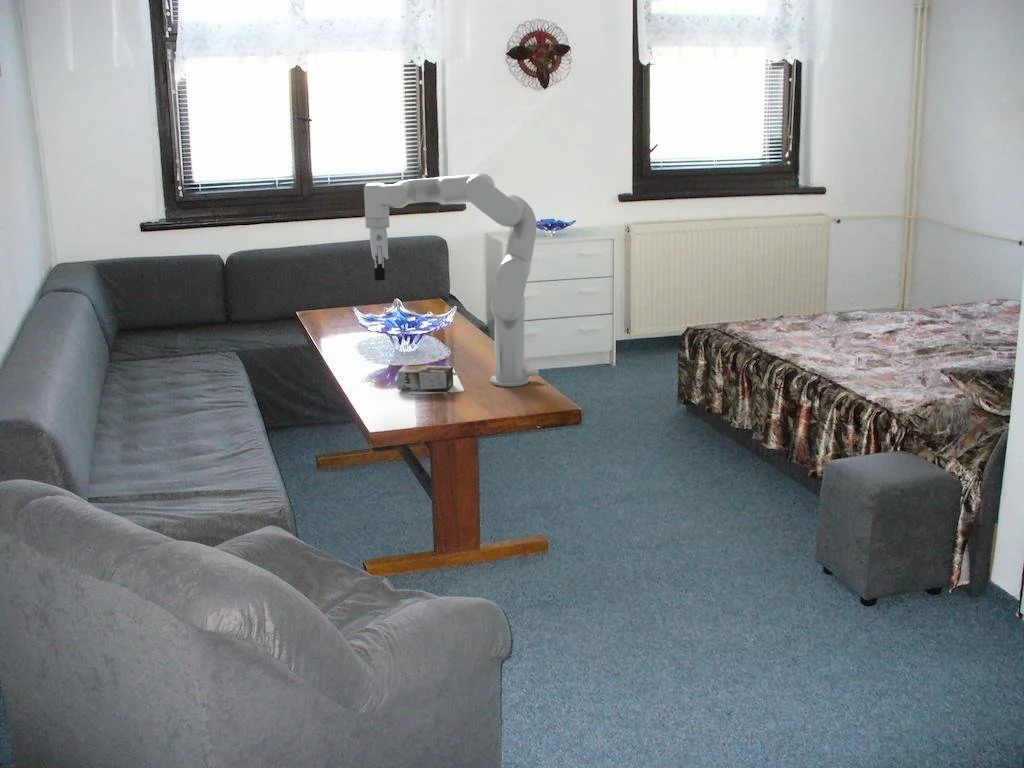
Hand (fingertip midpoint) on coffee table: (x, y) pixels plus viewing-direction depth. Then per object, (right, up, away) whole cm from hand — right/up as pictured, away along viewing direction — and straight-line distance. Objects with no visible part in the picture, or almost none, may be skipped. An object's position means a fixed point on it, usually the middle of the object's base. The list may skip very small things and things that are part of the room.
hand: (379, 279), depth 356 cm
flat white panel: (+17, -34, +2) cm, 38 cm away
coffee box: (+7, -31, -2) cm, 32 cm away
